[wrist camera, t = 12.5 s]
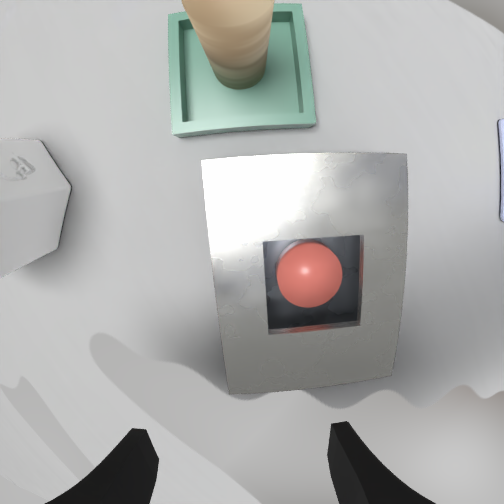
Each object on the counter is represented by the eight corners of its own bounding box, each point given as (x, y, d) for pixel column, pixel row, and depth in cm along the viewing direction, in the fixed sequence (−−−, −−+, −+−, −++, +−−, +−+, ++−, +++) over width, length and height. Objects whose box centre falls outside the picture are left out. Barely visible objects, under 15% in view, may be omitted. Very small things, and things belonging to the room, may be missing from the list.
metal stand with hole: (377, 155, 18) (406, 153, 14) (371, 344, 21) (391, 375, 17) (212, 162, 18) (201, 160, 14) (232, 358, 21) (229, 394, 17)
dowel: (265, 44, 16) (273, -42, 7) (265, 89, 16) (277, 25, 8) (213, 45, 16) (184, -37, 7) (213, 90, 16) (178, 30, 8)
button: (336, 237, 18) (342, 242, 17) (335, 295, 19) (341, 304, 17) (273, 241, 18) (275, 247, 17) (277, 300, 19) (279, 310, 17)
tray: (297, 17, 15) (301, 3, 14) (309, 127, 17) (315, 123, 16) (175, 26, 16) (168, 14, 14) (179, 137, 17) (172, 134, 16)
